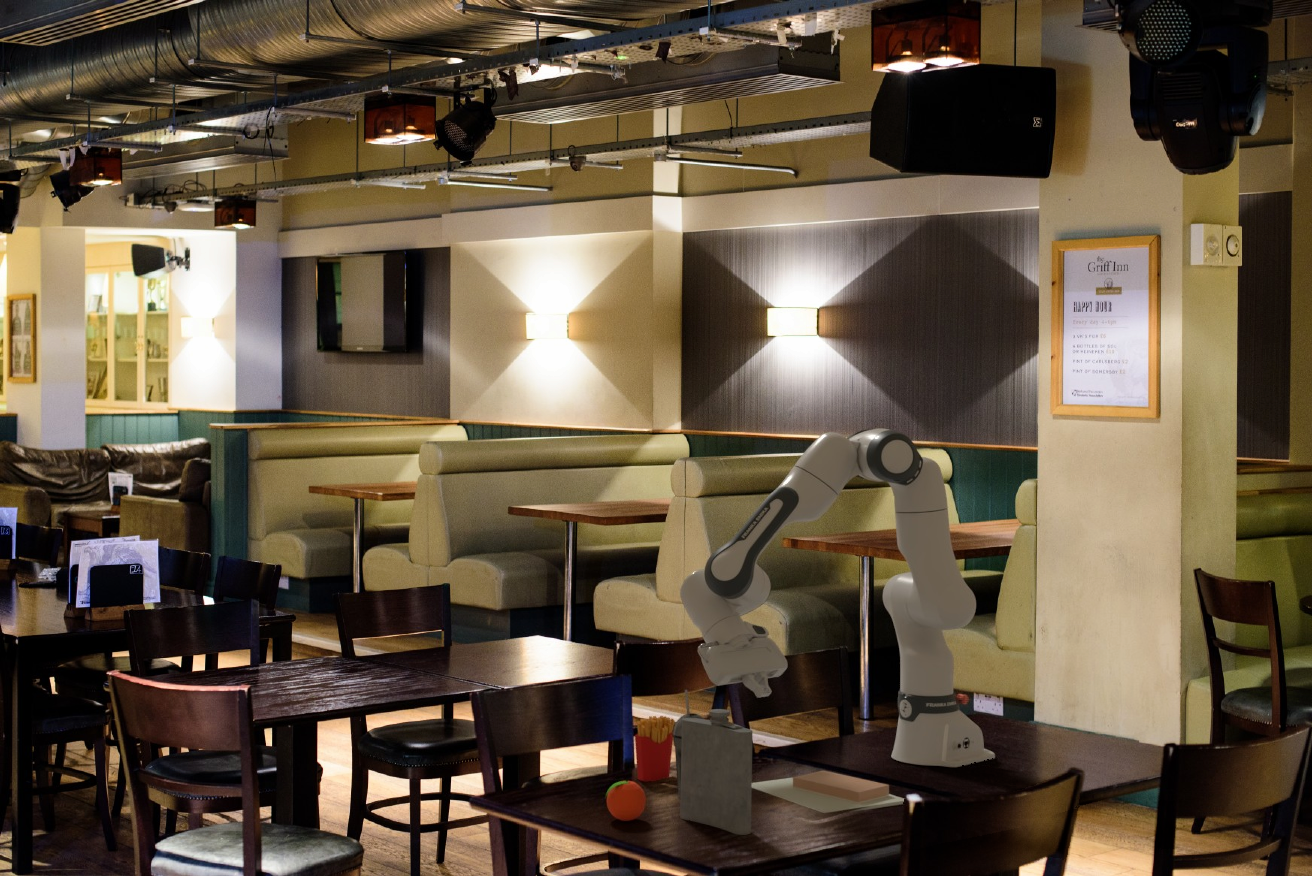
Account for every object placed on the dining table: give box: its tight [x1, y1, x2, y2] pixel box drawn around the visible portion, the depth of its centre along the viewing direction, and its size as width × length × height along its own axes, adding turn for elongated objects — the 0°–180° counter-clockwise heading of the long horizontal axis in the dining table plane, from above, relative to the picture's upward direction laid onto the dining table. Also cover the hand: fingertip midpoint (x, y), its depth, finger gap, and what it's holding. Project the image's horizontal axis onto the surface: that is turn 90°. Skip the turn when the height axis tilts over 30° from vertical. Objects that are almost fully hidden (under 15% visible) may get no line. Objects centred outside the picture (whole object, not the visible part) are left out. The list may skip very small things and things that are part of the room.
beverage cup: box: [672, 689, 705, 799], centre depth 288 cm, size 7×7×20 cm
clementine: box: [604, 779, 647, 822], centre depth 270 cm, size 8×7×7 cm
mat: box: [752, 777, 905, 814], centre depth 291 cm, size 20×25×1 cm
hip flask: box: [679, 708, 753, 836], centre depth 268 cm, size 16×4×20 cm, turn 43°
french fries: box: [634, 715, 676, 782], centre depth 302 cm, size 8×4×12 cm, turn 126°
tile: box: [792, 770, 890, 803], centre depth 291 cm, size 2×9×16 cm
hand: (765, 695), depth 305 cm, fingers closed
